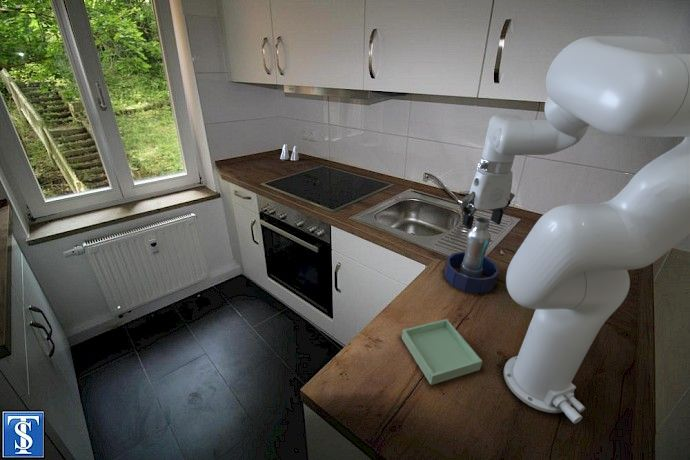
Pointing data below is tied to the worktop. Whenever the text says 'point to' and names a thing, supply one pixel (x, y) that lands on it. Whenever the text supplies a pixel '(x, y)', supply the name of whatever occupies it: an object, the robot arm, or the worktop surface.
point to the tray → (440, 351)
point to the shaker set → (286, 155)
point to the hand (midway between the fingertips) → (481, 224)
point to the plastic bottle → (476, 248)
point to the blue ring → (471, 282)
